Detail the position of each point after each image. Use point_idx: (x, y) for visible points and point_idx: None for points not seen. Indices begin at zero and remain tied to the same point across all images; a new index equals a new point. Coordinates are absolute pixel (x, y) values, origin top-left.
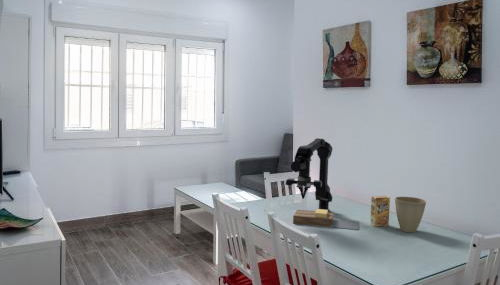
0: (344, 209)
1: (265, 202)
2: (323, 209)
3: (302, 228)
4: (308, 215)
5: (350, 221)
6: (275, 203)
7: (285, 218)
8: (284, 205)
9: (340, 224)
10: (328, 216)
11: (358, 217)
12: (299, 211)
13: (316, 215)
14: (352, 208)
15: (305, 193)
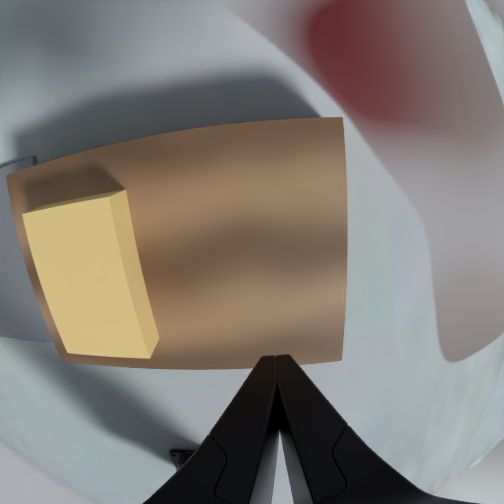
0: (134, 480)
1: (470, 449)
2: (96, 355)
3: (214, 17)
4: (192, 200)
5: (10, 319)
6: (435, 461)
7: (406, 244)
8: (401, 461)
9: (15, 238)
10: None
11: (34, 398)
12: (314, 313)
13: (106, 194)
14: (118, 488)
15: (214, 430)
